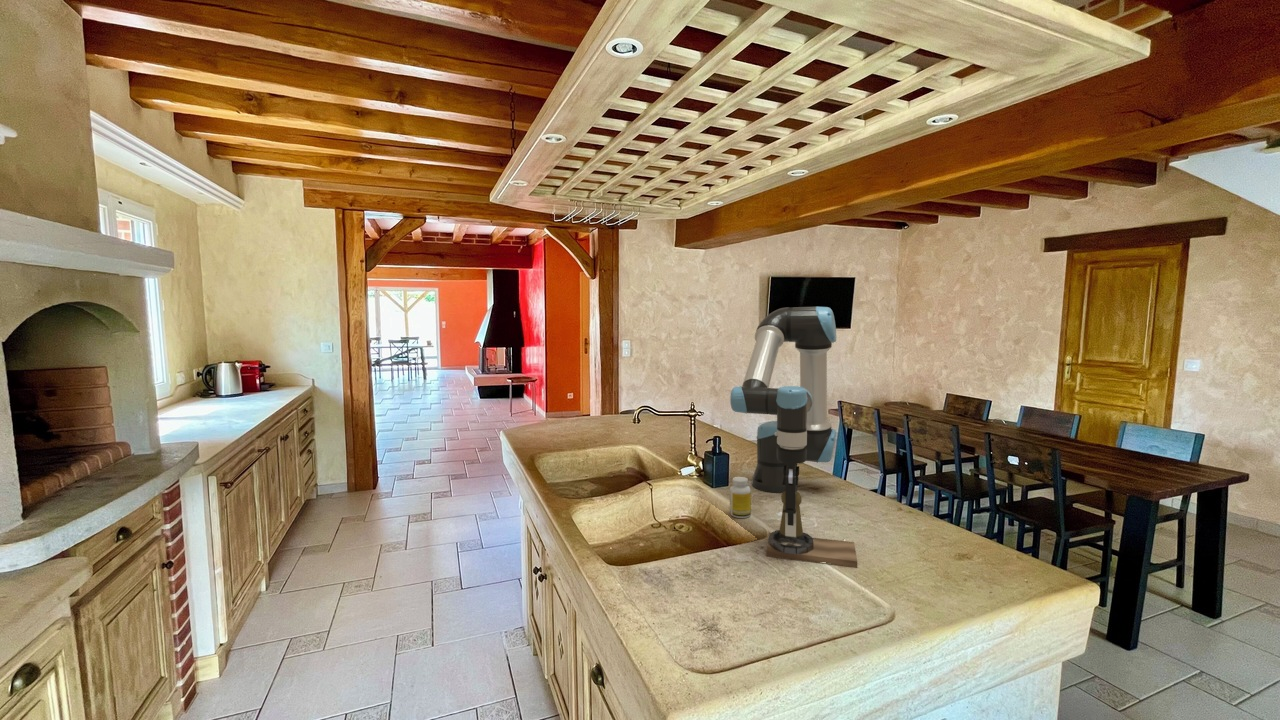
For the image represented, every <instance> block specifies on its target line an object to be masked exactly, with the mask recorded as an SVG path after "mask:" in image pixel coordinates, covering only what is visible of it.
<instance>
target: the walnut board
mask: <svg viewBox="0 0 1280 720" xmlns="http://www.w3.org/2000/svg"><path fill="white" fill-rule="evenodd" d="M770 533H771V532H769V534H770ZM769 534H768V535H769ZM812 538H813V539H814V547H813V550H811V551H810V552H808V553H803V554H789V553H783V552H780V551H778V550H775V549H773V548H772V547H771V546H770V545H769V537H768V539H767V545H766V551H765V552H766V555H765V556H766V557H771V558H776V559H777V558H778V559H787V560H794V561H800V562H801V561H802V562H809V563H810V562H811V563H818V564H821V563H820V562H826V563H831V564H830V565H832V564H836V565H835V566H840V565H843V566H842V567H848V568H858V558H857V552H856V546H855V542H854V541H846V540H838V539H829V538H828V539H827V538H818V537H812Z"/></svg>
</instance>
